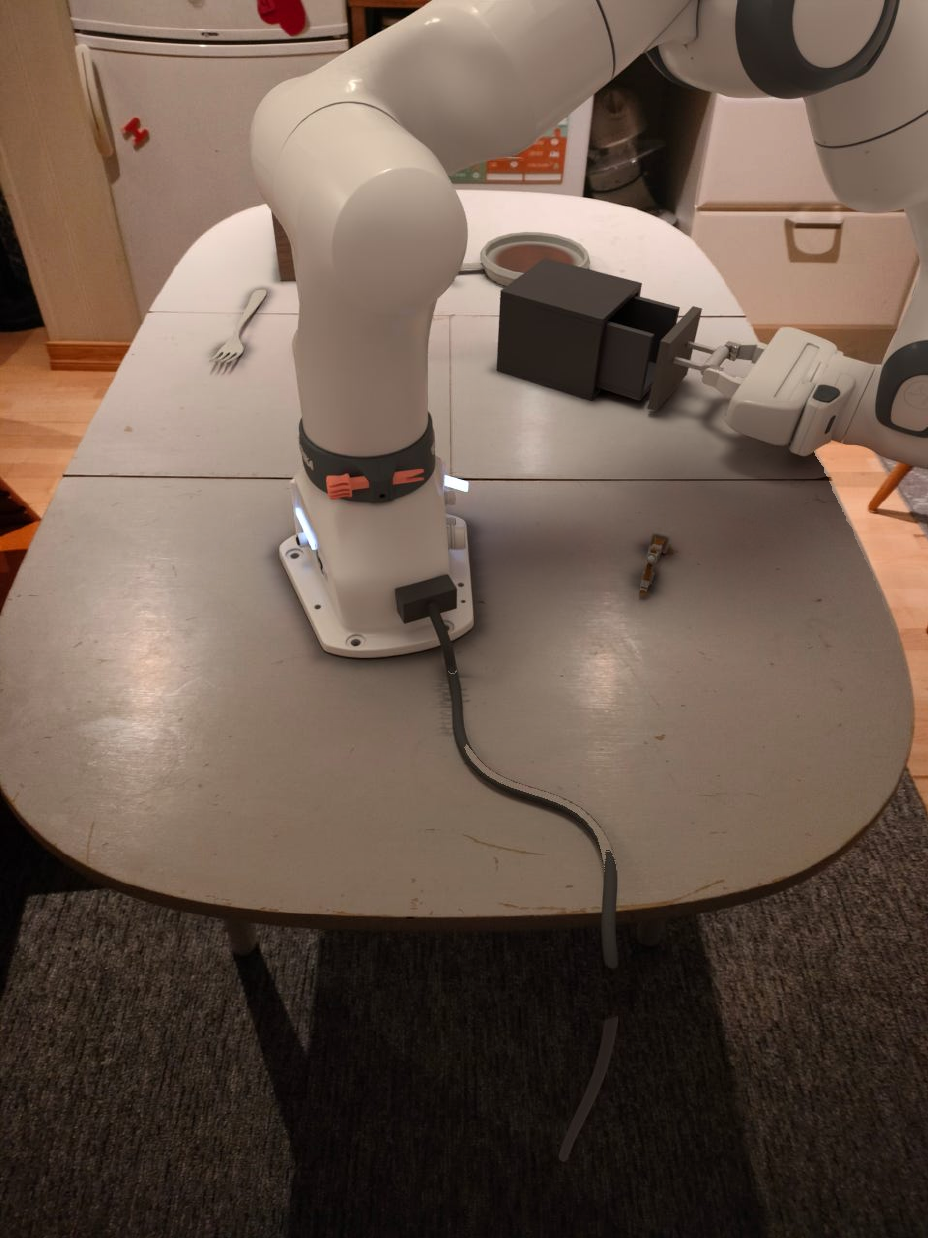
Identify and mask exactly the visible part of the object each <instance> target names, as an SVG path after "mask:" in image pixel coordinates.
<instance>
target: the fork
mask: <svg viewBox="0 0 928 1238" xmlns="http://www.w3.org/2000/svg"><path fill="white" fill-rule="evenodd" d="M266 297H267V291H266V289H257V290H255V291H254V292H253V293H252V294H251V296H250V298H249V300H248V303H247V305H246V307H245V309H244V312H243V314H242V316H241V318H240V320H239V322H238V323H237V325H236V326H235V328H234V330H233V332H232V335H231V337H230V338H229V340H228V341H227V342H225V343H224V345H222V346H221V347H220V348H219V349H218V351H217V353H216V354H215V355H214V356H213V357H211V358H210V359H208V362H209V363H210V362H213V361H214V363H217V362H219V361H220V362H219V363H221V364H222V363H224V362H225V363H226V364H228V363H232V361H234V360H235V359H237V358H238V357H239V356H240V355H242V353H243V352H244V350H245V348H244V345H243V344H242V342H241V340H240V331H241V329H242V327H243V326H244V325H245V324H246V322H247V321H248V320H249V318H250V317H251V316H252V315H253V314H254V313H255V311H256V310H257V309H258V307H260V305H261V303H263V301H264V300H265V298H266Z"/></svg>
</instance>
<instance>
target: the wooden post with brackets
mask: <svg viewBox="0 0 928 1238" xmlns="http://www.w3.org/2000/svg"><path fill="white" fill-rule="evenodd" d="M670 540H671V535H668V534H665V533H661V532H656V531H652V532H651V537H650V539H649V544H648V551H647V552H646V556H645V560H644V562H645V563H646V566H645V569H644V571H642V575H641V579H640V585H639V586H640V588H639V592H638V594H639V595H644V596H645V595H646V594H647V591H648V588H649V587H650V586H652V583H653V580H654V577H655V576H654V575H655V571H653V567H654V565H656V563H657V561H658V560H659V559H660V556H661V553H664V554H666V553H667V551H668V547H669V543H670Z"/></svg>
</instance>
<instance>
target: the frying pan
mask: <svg viewBox="0 0 928 1238" xmlns="http://www.w3.org/2000/svg"><path fill="white" fill-rule="evenodd" d="M543 258H547V259H551V260H555V261H559V262H563V263H567V264H570V265H574V266H578V267H582V268H586V269H588V268H589V266H590V264H591V260H590V255H589V253H588V250H587V249H586V248H585V247H584V246H583V245H582V244H581V243H579V242H577V241H575V240H573V239H572V238H569V237H566V236H563V235H559V234H555V233H549V232H543V231H542V232H541V231H540V232H539V231H520V232H512V233H507V234H502V235H499V236H496V237H494V238H492V239H490V240H489V241H487V243H485V245H484V246H483V247H482V249H481V250H480V252H479V260H480V262H468V263H467V262H466V263H464V262H463V263H462V266H461V268H460V270H482V269H484V272H485V274H486V275H487V277H488V278H489V279H490V280H492V281H494V282H495V283H497V284H499V285H502V286H505V287H506V286H507V285H509V284H510V283H511V282H513V281H514V280H515V279H517V278H518V277H519V276H521V275H522V274H523V273H525V272H526V271H527V270H529V269H530V268H531V267H533V266H534V265H535V264H537V263H538V262H539V261H541V260H542V259H543ZM460 270H459V271H460ZM454 282H455V280H454V281H453V282H452V283H454Z"/></svg>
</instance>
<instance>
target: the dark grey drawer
mask: <svg viewBox="0 0 928 1238" xmlns="http://www.w3.org/2000/svg"><path fill="white" fill-rule="evenodd" d="M680 309H681V307H680V306H678V305H673V304H669V303H665V302H662V301H658V300H655V299H650V298H646V297H643V296H641V295H640V296H636V295H634V296H633V297H632V298H631V299H630V300H629V301H628V302H627V303H626V304H625V305H623V306H622V307H621V308H620V309H619V310H618V311H617V312H616V313H615V314H614V315H613V316H612V317H611V318H610V319H609V320H608V321H606V322H605V326H604V333H603V340H602V346H601V353H600V360H599V367H598V374H597V381H596V387H598V388H601V389H602V390H604V391H607V392H610V393H614V394H618V395H620V396H624V397H627V398H629V399H630V398H631V399H632V400H636V401H641V400H642V399H643V398H644V396H646V394H647V393H648V392H649V391H650V392H649V396H648V397H649V399H648V402H647V410H650V411H654V412H657V411H658V410H659V409H660V408H661V407H662V405H663V404H664V403H665V402H666V401H667V400H668V398H669V397H670V396H671V395H672V393H673V392H674V391H675V390H676V389H677V387H678V386H679V385H680V384H681V382H682V381H683V380H684V379H685V378H686V377H687V375H688V374H689V373H688V372H689V369H693V370H696V371H698V372H699V371H700V375H701V376H702V377H703V374H704V371H705V370H706V368H707V367H708V366H709V365H715V366H719V367H721V366H722V364H723V363H724V362H725V360H727V359H726V358H727V357H728V355H729V350H728V348H727V347H726V346H724V345H719V346H717V347H716V348H715V347H712V346H709V345H705V344H702V343H698V342H696V338H697V333H698V328H699V324H700V320H701V315H702V311H703V308H702V307H699V306H694V305H693V306H691V308H689V309H688V310H687V312H686V313H685V314H684V315H683V316H682V317H681V318H680V319H679V314H680ZM678 319H679V320H678ZM694 350H695V351H697V352H701V353H705V354H710V356H709V357H708V358H707V359H706V361H705V362H704V363H701V362H697V361H692V355H693V351H694Z"/></svg>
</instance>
